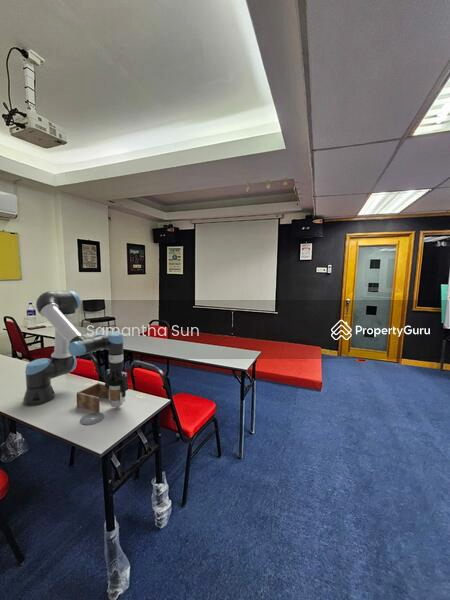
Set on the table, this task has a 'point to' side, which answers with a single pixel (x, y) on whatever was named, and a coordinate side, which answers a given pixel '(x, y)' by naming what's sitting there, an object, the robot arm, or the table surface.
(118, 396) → the coffee cup
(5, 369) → the table surface
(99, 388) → the wooden c-shaped bracket
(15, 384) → the table surface
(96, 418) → the coaster
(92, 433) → the table surface
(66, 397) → the table surface
